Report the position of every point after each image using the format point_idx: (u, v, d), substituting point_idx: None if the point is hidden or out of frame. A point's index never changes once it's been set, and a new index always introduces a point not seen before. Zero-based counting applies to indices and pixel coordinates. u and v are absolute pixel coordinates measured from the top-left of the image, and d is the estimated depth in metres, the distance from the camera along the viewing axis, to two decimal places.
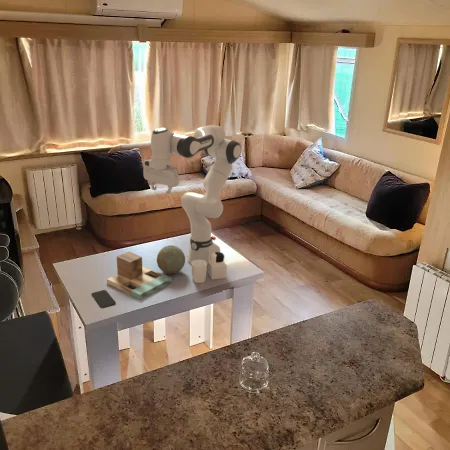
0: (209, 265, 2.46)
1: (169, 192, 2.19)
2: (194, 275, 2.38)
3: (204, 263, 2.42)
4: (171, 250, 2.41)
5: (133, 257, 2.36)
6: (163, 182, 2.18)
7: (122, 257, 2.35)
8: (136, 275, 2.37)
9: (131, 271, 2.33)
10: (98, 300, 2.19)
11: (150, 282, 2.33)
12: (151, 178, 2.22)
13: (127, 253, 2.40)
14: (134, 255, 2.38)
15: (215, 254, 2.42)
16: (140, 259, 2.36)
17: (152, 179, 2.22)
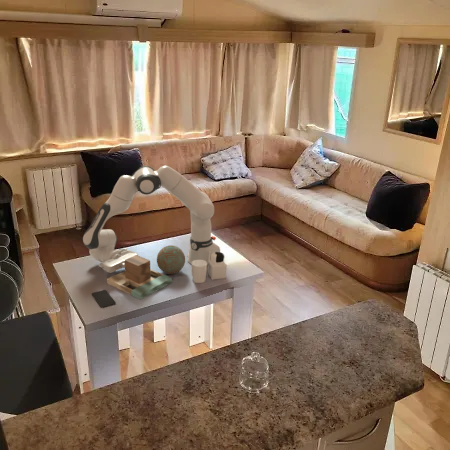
0: (209, 265, 2.46)
1: None
2: (194, 275, 2.38)
3: (204, 263, 2.42)
4: (171, 250, 2.41)
5: (141, 261, 2.32)
6: None
7: (130, 261, 2.32)
8: (144, 279, 2.34)
9: (139, 275, 2.30)
10: (98, 300, 2.19)
11: (150, 282, 2.33)
12: None
13: (135, 256, 2.37)
14: (142, 258, 2.35)
15: (215, 254, 2.42)
16: (148, 263, 2.33)
17: None
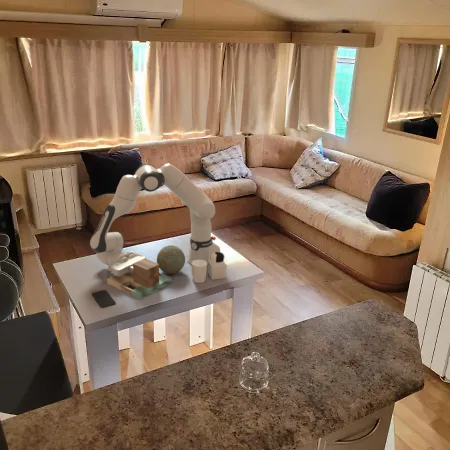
0: (209, 265, 2.46)
1: None
2: (194, 275, 2.38)
3: (204, 263, 2.42)
4: (171, 250, 2.41)
5: (150, 265, 2.29)
6: None
7: (138, 264, 2.29)
8: (153, 283, 2.30)
9: (147, 279, 2.26)
10: (98, 300, 2.19)
11: None
12: None
13: (143, 260, 2.33)
14: (151, 262, 2.31)
15: (215, 254, 2.42)
16: (157, 266, 2.30)
17: None
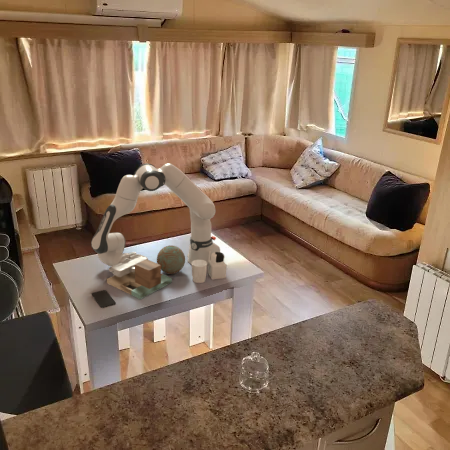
0: (209, 265, 2.46)
1: None
2: (194, 275, 2.38)
3: (204, 263, 2.42)
4: (171, 250, 2.41)
5: (152, 265, 2.28)
6: None
7: (140, 265, 2.28)
8: (155, 284, 2.29)
9: (149, 280, 2.26)
10: (98, 300, 2.19)
11: None
12: None
13: (145, 261, 2.33)
14: (152, 263, 2.31)
15: (215, 254, 2.42)
16: (159, 267, 2.29)
17: None
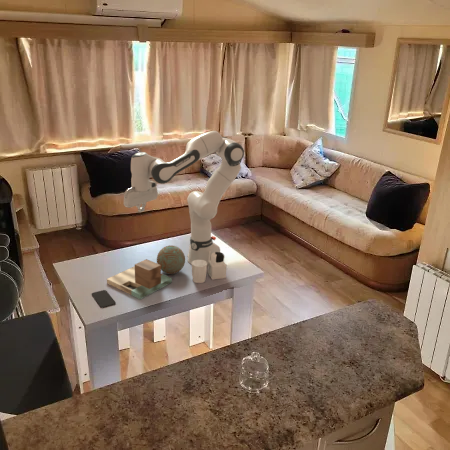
0: (209, 265, 2.46)
1: (139, 210, 2.35)
2: (194, 275, 2.38)
3: (204, 263, 2.42)
4: (171, 250, 2.41)
5: (152, 265, 2.28)
6: None
7: (140, 265, 2.28)
8: (155, 284, 2.29)
9: (149, 280, 2.26)
10: (98, 300, 2.19)
11: None
12: None
13: (145, 261, 2.33)
14: (152, 263, 2.31)
15: (215, 254, 2.42)
16: (159, 267, 2.29)
17: None
